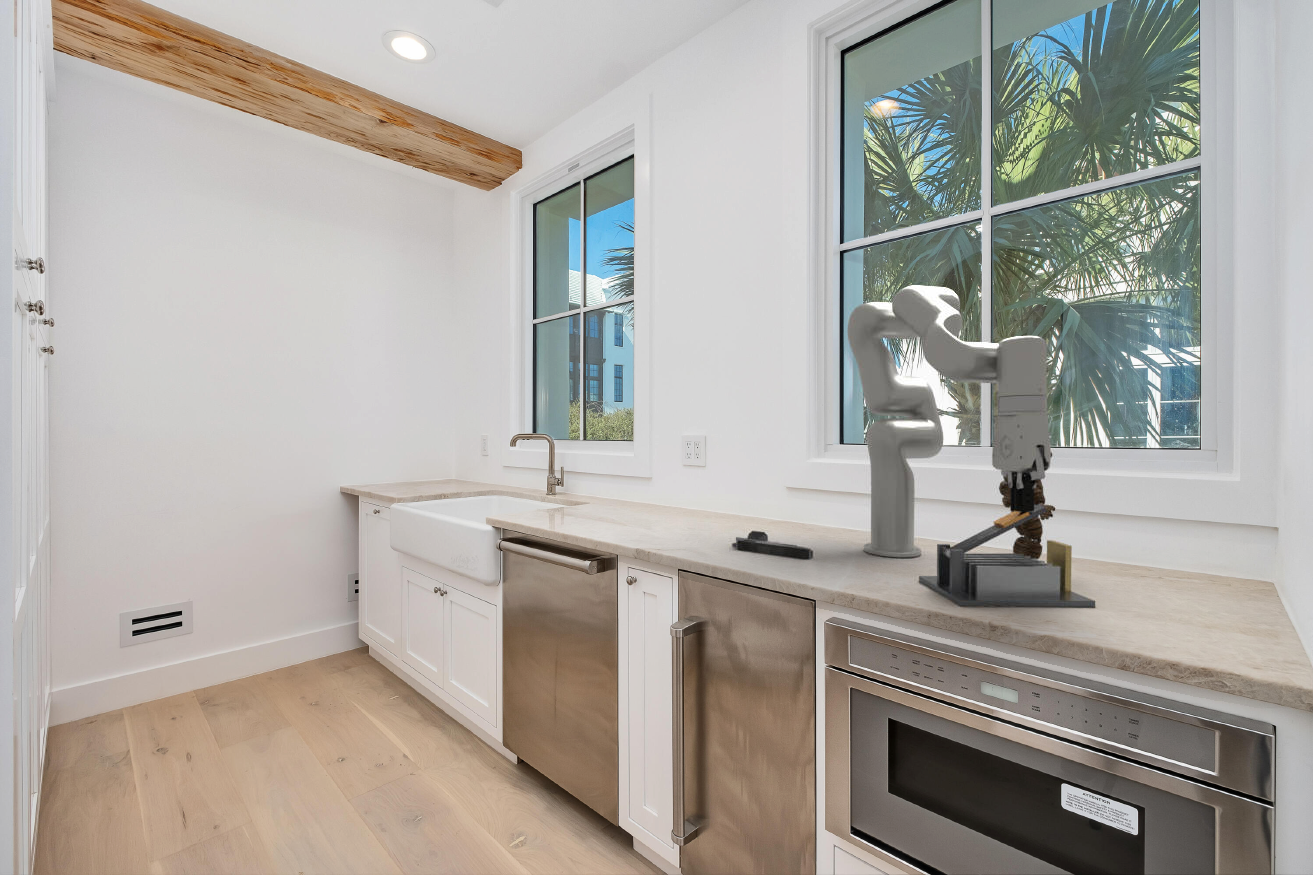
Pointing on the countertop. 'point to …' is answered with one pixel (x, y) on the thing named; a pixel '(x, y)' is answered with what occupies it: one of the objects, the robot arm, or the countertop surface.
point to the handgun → (770, 546)
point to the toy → (1028, 522)
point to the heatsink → (1006, 578)
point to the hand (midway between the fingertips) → (1022, 510)
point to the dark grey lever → (995, 529)
